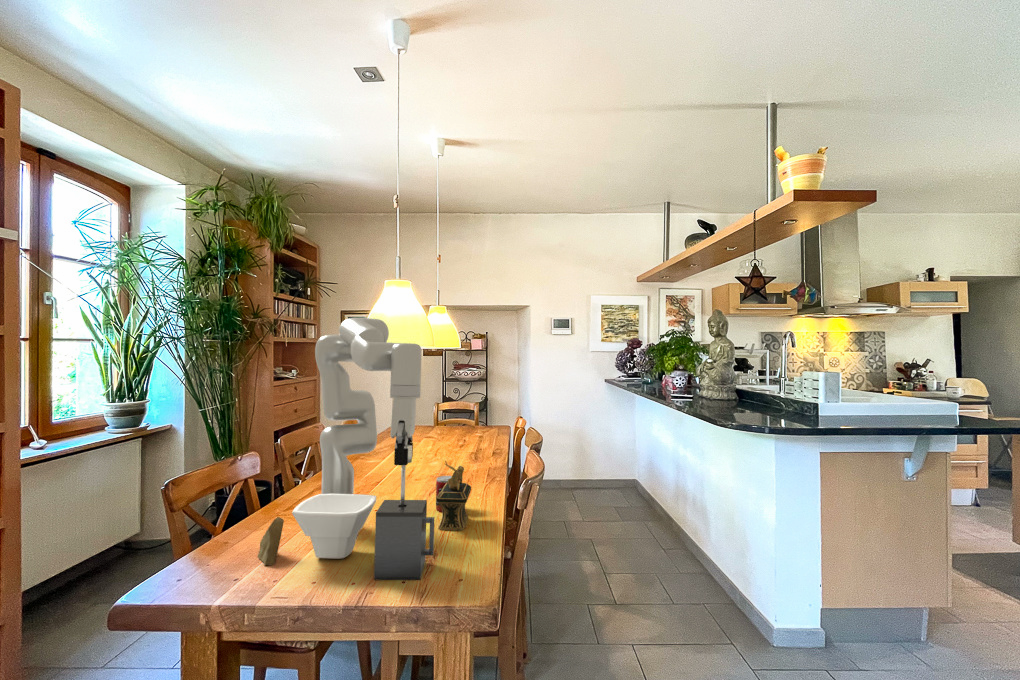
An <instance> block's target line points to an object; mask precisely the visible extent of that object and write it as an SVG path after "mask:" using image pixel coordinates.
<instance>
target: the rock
mask: <svg viewBox="0 0 1020 680" xmlns="http://www.w3.org/2000/svg"><path fill="white" fill-rule="evenodd" d="M284 521H285V519H283V518H282V517H280V516H277V517H275V519H273V520H272V522H271V524H270V525H269V526H268V527H267V530H266V531H265V533H264V534H263V536H262V538H261V540H260V542H259V550H258V553H257V558H258V559H259V560H260V561H261V562H263V565H265V566H268V565H269V566H270V565H271V566H272V565H275V563H276V560H277V557H278V552H279V547H280V543H281V542H280V541H281V538H282V532H283V527H284Z"/></svg>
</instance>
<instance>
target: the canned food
mask: <svg viewBox="0 0 1020 680" xmlns="http://www.w3.org/2000/svg"><path fill="white" fill-rule="evenodd" d="M451 477H452V475H442V476H438V477H436V484H435V486H436V487H435V491H436V492H435V499H436V498H437V496H438V494H439V492H440V491H441V489H442V488H443V486H444V485H445V484H446V483H448V482H447V481H448V479H450V478H451ZM435 510H436V511H437V512H438V511H439V513H443V512H442V508H441V506H440V505H439V504H438V503H437V502H436V501H435Z"/></svg>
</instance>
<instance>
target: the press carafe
mask: <svg viewBox="0 0 1020 680" xmlns="http://www.w3.org/2000/svg"><path fill="white" fill-rule="evenodd" d="M427 504H428V501H427V499H405V507H400V506H401V499H384V500H383V502H382V503H381V504H380V506H379V508H378V509H377V510H376V512H375V531H374V572H373V581H421V578H422V577H423V576H422V575H423V571H424V568H425V564H426V556H434V554H435V553H434V552H435V550H434V549H435V546H434V545H435V516H427V507H428V505H427ZM427 524H429V537H428V538H429V541H428V542H429V543H428V544H429V545H428V547H429V548H426V546H427V544H426V543H427Z"/></svg>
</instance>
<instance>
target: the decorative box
mask: <svg viewBox="0 0 1020 680" xmlns="http://www.w3.org/2000/svg"><path fill="white" fill-rule="evenodd" d="M444 461H445V466H446V467H448V468H449V469H450V470H453V471H454V472H453V473H452V475H451V476H452V477H451V478H450V479H448V481H447V482H448V483H446V484H445V485H444V486H443V488H442V489H441V491H440V492H439V494H438V496H437V498H436V497H435V503H436V502H437V503H438V504H439V505H440V506H441V508H442V512H441V513H442V517H441V521H440V523H439V525H438V528H437V529H439V530H440V531H441V530H442V531H464V530H465V529H466V525H467V523H468V519H469V515H468V513H467V510H466V503H467V502H468V500H469V496H470V494H471V491H472V486H471V485H470V484H469V483H467V482H463V479H464V477H463V474H464V472H465V471H464V470H465V467H464V466H462V465H459V466H458V467H457V469H455V467H453V466H451V465H449V464H448V462H447V461H446V460H444Z"/></svg>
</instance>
